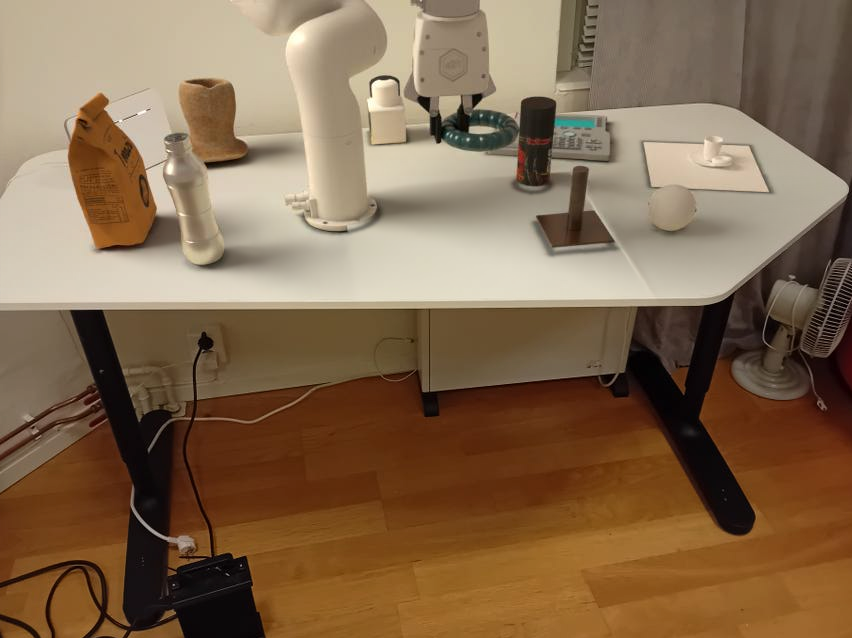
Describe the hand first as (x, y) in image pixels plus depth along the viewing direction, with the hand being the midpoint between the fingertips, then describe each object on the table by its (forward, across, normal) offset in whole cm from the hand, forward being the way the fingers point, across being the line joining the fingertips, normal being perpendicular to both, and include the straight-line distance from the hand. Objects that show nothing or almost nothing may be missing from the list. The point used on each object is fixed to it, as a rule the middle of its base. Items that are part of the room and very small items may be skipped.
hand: (449, 138), depth 106 cm
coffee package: (+19, -52, +14) cm, 57 cm away
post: (+18, +20, 0) cm, 27 cm away
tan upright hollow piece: (+19, -42, +43) cm, 62 cm away
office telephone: (+18, +27, +39) cm, 51 cm away
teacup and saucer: (+18, +51, +21) cm, 58 cm away
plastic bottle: (+19, -38, +3) cm, 43 cm away
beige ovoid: (+18, +36, +1) cm, 41 cm away
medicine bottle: (+19, -6, +46) cm, 50 cm away
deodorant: (+18, +18, +19) cm, 32 cm away
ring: (-1, +4, 0) cm, 4 cm away
